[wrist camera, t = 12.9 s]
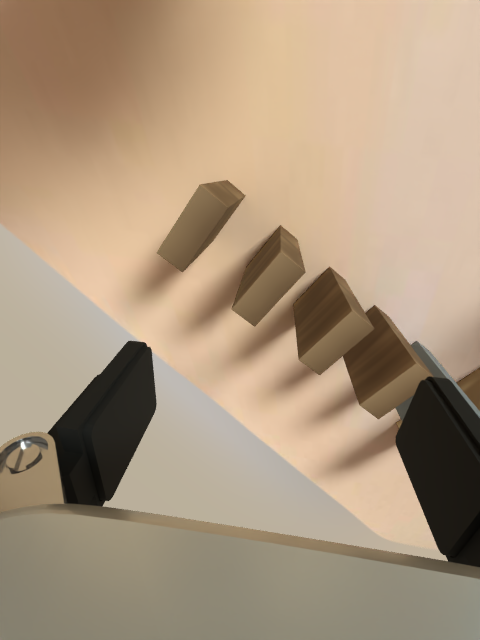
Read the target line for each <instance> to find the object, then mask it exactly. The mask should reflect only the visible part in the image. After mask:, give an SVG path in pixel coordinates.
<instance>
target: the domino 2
mask: <svg viewBox="0 0 480 640" xmlns="http://www.w3.org/2000/svg"><path fill="white" fill-rule="evenodd" d="M304 273H305V268H304V264H303V260H302V256H301V252H300V248H299V244H298V240H297V239H296V238H295V237H294V236H293V235H291V234H290V233H289V232H288V231H287V230H286V229H284V228H283V227H282V226H281V225H280V227H279V228H278V229H277V230H276V231H275V233H274V234H273V235H272V236H271V238H270V239H269V240H268V241H267V243H266V244H265V245H264V246H263V247H262V249H261V250H260V251H259V252H258V254H257V255H256V256H255V257H254V258H253V260H252V261H251V262H250V263H249V265H248V266H247V267H246V270H245V272H244V275H243V278H242V281H241V284H240V287H239V289H238V292H237V295H236V298H235V301H234V304H233V306H232V310H233V311H234V312H236V313H237V314H238V315H240V316H241V317H242V318H244V319H245V320H246V321H248V322H249V323H250V324H252V325H253V326H254V327H255V326H256V325H257V324H258V323H259V322H260V321H261V319H262V318H263V317H264V316H265V315H266V314H267V313H268V312H269V311H270V310H271V309H272V308H273V307H274V305H275V304H276V303H277V302H278V301H279V300H280V299H281V298H282V297H283V296H284V295H285V294H286V293H287V292H288V290H289V289H290V288H291V287H292V286H293V285H294V284H295V283H296V282H297V281H298V280H299V279H300V278H301V276H302V275H303V274H304Z"/></svg>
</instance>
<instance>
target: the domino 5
mask: <svg viewBox="0 0 480 640" xmlns="http://www.w3.org/2000/svg"><path fill="white" fill-rule="evenodd" d="M411 347H412V348H413V349H414V351H415V352H416V353H417V355H418V356H419V357H420V359H421V360H422V361H423V363H424V364H425V365H426V367H427V368H428V369H429V371H430V372H431V373H432V375H433V376H434V377H439V378H447V379H449V380H450V381H451V382H452V383H453V384H454V386H455V387H456V388H457V389H458V391H459V392H460V393H461V395H462V396H463V397H464V398H465V400H466V401H467V402H468V404H469V405H470V406H471V408H472V409H473V410H474V411H475V413H476V414H477V415H478V417H479V418H480V411H479V410H478V409H477V407H476V406H475V405H474V404H473V403H472V401H471V400H470V399H469V398H468V397H467V395H466V394H465V393H464V392H463V391H462V389H461V388H460V387H459V386H458V385H457V383H456V382H455V381H454V380H453V379H452V377H451V376H450V375H449V374H448V373H447V371H446V370H445V369H444V368H443V367H442V365H441V364H440V363H439V362H438V361H437V359H436V358H435V357H434V356H433V355H432V353H431V352H430V351H429V350H427V349H426V348H425V347H424V346H422V345H421V344H420V343H419V342H418V341H416V342H415V343H413V344H412V345H411ZM413 396H414V395H413ZM413 396H412V397H410V398H409V399H407V400H406V401H404V402H403V403H401V404H400V405H399V406H397V407H396V410H397V412H398V414H399V416H400V418H401V420H402V421H403V419H404V417H405V414H406V412H407V410H408V408H409V405H410V403H411V401H412V398H413Z"/></svg>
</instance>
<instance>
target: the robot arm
mask: <svg viewBox="0 0 480 640" xmlns="http://www.w3.org/2000/svg"><path fill="white" fill-rule="evenodd" d="M155 410H156V394H155V383H154V372H153V361H152V351H151V348H150V347H147V345H146V343H145V342H137V341H128V342H127V343H126V344H125V345H124V347H123V348H122V349H121V350H120V352H119V353H118V354H117V355H116V356H115V357H114V359H113V360H112V361H111V362H110V363H109V364H108V366H107V367H106V368H105V369H104V370H103V372H102V373H101V374H100V375H97V377H95V378H94V379H93V380H92V382H91V383H90V384H89V385H88V386H87V388H86V389H85V390H84V391H83V392H82V393H81V394H80V396H79V397H78V398H77V399H76V400H75V401H74V403H73V404H72V405H71V406H70V407H69V408H68V410H67V411H66V412H65V413H64V414H63V415H62V417H61V418H60V419H59V420H58V421H57V422H56V424H55V425H54V426H53V427H52V428H51V430H50V431H49V432H48V433H43V432H30V433H26V434H22V435H20V436H17V437H15V438H13V439H11V440H9V441H8V442H6V443H5V444H3V445H2V446H1V447H0V640H480V418H479V417H478V415H477V414H476V413H475V411H474V410H473V409H472V408H471V406H470V405H469V404H468V402H467V401H466V400H465V398H464V397H463V396H462V395H461V393H460V392H459V391H458V389H457V388H456V387H455V386H454V384H453V383H452V382H451V381H450V380H449V379H447V378H439V377H431V376H429V377H427V378H426V379H425V380H421V381H420V383H419V385H418V387H417V389H416V392H415V394H414V396H413V398H412V401H411V403H410V405H409V408H408V410H407V412H406V414H405V417H404V419H403V421H402V423H401V426H400V428H399V430H398V433H397V435H396V446H397V448H398V451H399V453H400V456H401V458H402V461H403V463H404V466H405V468H406V471H407V473H408V475H409V478H410V480H411V483H412V485H413V488H414V490H415V493H416V495H417V498H418V500H419V502H420V505H421V507H422V510H423V512H424V515H425V517H426V520H427V522H428V525H429V527H430V529H431V532H432V534H433V537H434V539H435V542H436V544H437V547H438V549H439V551H440V552H441V553H442V554H443V555H446V557H447V559H448V561H442V560H436V559H430V558H424V557H418V556H412V555H407V554H401V553H395V552H389V551H383V550H377V549H370V548H364V547H359V546H353V545H346V544H340V543H334V542H328V541H322V540H316V539H309V538H304V537H298V536H292V535H285V534H279V533H273V532H267V531H260V530H254V529H248V528H242V527H236V526H229V525H222V524H216V523H210V522H204V521H197V520H191V519H185V518H178V517H172V516H166V515H159V514H152V513H145V512H138V511H131V510H124V509H116V508H109V507H102V506H103V504H104V502H105V501H109V500H111V498H112V497H113V495H114V493H115V491H116V489H117V487H118V485H119V483H120V481H121V479H122V477H123V475H124V473H125V471H126V469H127V467H128V465H129V463H130V461H131V459H132V457H133V455H134V453H135V451H136V449H137V447H138V445H139V443H140V441H141V439H142V437H143V435H144V433H145V431H146V429H147V427H148V425H149V423H150V421H151V419H152V417H153V415H154V413H155Z"/></svg>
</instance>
